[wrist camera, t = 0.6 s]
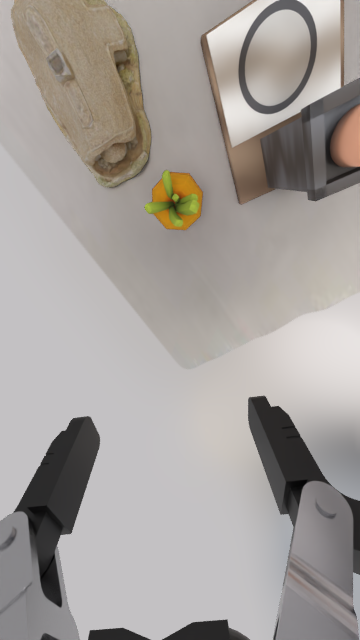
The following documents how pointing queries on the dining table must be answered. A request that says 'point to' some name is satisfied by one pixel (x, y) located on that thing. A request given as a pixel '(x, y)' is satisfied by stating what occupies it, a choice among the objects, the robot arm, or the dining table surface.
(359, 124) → the button
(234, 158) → the dispenser stand
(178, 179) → the carrot
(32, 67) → the ceramic model
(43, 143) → the dining table surface
